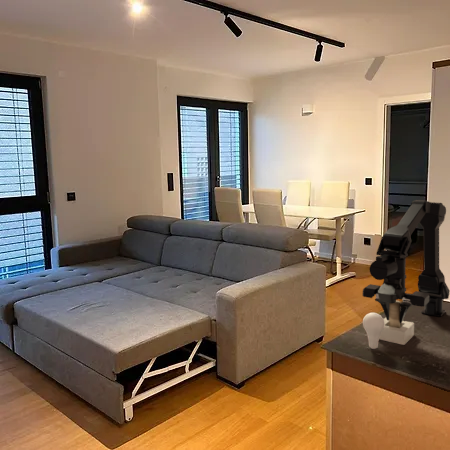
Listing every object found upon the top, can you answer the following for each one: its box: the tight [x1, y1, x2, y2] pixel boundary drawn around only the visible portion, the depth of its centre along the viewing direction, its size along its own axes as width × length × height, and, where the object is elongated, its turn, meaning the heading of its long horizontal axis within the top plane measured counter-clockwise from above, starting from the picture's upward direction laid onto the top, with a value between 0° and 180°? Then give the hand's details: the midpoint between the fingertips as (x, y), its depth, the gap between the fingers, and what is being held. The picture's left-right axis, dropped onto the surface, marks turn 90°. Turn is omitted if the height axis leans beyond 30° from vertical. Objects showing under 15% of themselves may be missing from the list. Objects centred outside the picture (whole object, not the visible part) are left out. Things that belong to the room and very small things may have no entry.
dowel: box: [389, 300, 401, 328], centre depth 141 cm, size 3×3×10 cm
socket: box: [379, 316, 415, 346], centre depth 141 cm, size 9×9×4 cm
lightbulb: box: [362, 312, 385, 350], centre depth 133 cm, size 6×6×11 cm
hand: (394, 321), depth 141 cm, fingers open, 4 cm apart
